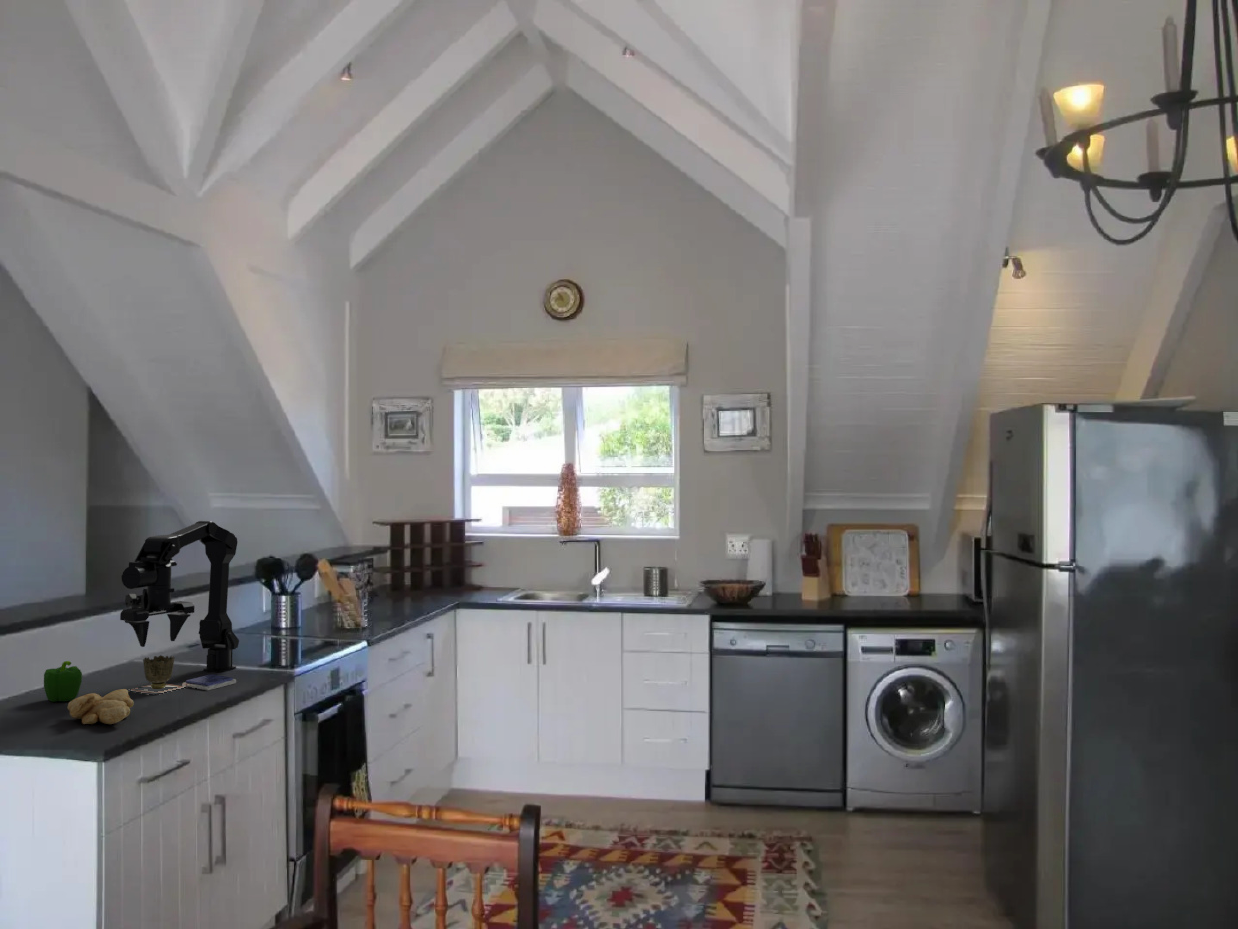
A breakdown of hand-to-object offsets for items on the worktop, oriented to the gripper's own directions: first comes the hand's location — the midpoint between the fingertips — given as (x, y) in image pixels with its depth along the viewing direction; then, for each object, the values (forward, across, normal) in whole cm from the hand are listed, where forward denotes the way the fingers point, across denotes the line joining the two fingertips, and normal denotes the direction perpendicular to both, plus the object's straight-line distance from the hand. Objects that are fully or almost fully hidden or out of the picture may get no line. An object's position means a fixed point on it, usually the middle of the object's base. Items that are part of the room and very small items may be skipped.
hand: (157, 643), depth 251 cm
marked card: (+12, 0, 0) cm, 12 cm away
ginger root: (+12, +27, +14) cm, 33 cm away
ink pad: (+12, -10, +8) cm, 18 cm away
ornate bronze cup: (+12, 0, 0) cm, 12 cm away
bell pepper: (+12, +19, -11) cm, 25 cm away
